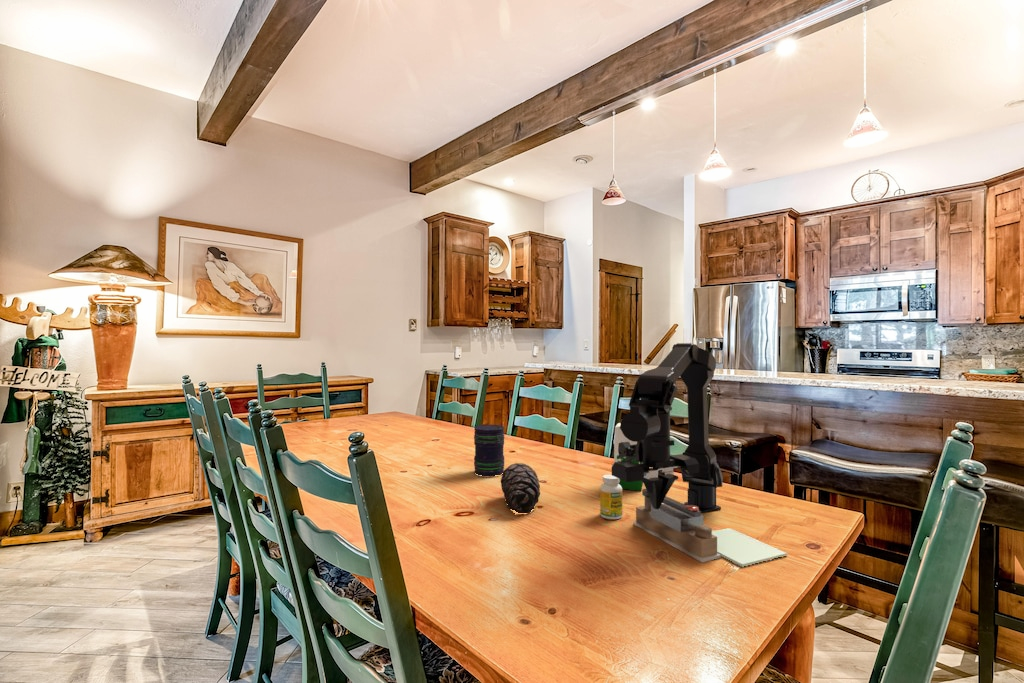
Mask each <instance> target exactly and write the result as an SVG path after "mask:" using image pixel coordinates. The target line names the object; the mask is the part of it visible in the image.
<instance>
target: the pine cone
mask: <svg viewBox="0 0 1024 683" xmlns="http://www.w3.org/2000/svg"><path fill="white" fill-rule="evenodd" d="M500 486H501V491H502V493H503V497H504V498H505V499H506V501H505V500H504V503H505V502H506V503H507V504H508V505H507V506H508V507H509V508H508V507H507V506H506V507H507V508H508V509H509V510H510V509H512V510H515V511H516V512H518V513H530V512H531V510H532V509H534V506H535V505H536V504H538V503H539V498H540V495H541V490H540V487H541V485H540V480H539V477H538V475H537V473H536V471H535V470H534V469H533V468H532V467H531V466H529V465H528V464H525V463H521V462H520V463H517V462H515V463H512V464H510V465H509V466H507V468H504V472H503V474H502V475H501V478H500ZM506 503H505V504H506ZM535 507H536V506H535ZM514 514H515V513H514ZM514 514H513V515H514ZM530 514H531V513H530Z"/></svg>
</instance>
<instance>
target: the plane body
mask: <svg viewBox="0 0 1024 683" xmlns="http://www.w3.org/2000/svg"><path fill="white" fill-rule="evenodd" d="M651 506H652V503H651V501H650V498H649V497H646V496H644V505H642V506H641V505H640V506H636V507H635V521H633V523H632V524H633V525H634V526H635V527H638V528H639V529H641V530H643V531H645V532H646V533H648V534H650V535H652V536H654V537H655V538H657V539H659V540H661V541H662V542H665V543H666V544H668V545H670V546H671V547H673V548H675V549H677V550H679V551H680V552H683V553H684V554H686V555H688V556H690V557H691V558H693V559H695V560H697V561H698V562H700V563H706V562H710V561H715V560H718V559H721V558H722V557H721V555H720V554H718V553H717V537H716V536H714V535H712V531H713V529H712V527H711V526H709V525H705V524H704V525H697V526H695V530H690V531H685V532H679V531H677V530H675V529H673V528H671V527H669V526H667V525H665V524H663V523H661V522H659V521H657V520H655V519H653V518H651ZM714 559H715V560H714Z"/></svg>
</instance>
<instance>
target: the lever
mask: <svg viewBox="0 0 1024 683" xmlns="http://www.w3.org/2000/svg"><path fill="white" fill-rule="evenodd" d="M641 492H642V493H641V494H642V496H643V497H645V496H646V497H649V495H648V492H647V490H646V488H642V490H641ZM662 504H666V505H668V506H671V507H673V508H675V509H677V510H679V511H682V512H684V513H686V514H688V515H691V516H693V517H699V516H701V515H702V512H701V511H699V508H698V506H695V505H685V504H684V503H683V502H680V501H678V500H675V499H673V498H670V497H668V496H667V495H666V496H665V498H664V500H663V502H662Z"/></svg>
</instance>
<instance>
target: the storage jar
mask: <svg viewBox="0 0 1024 683" xmlns="http://www.w3.org/2000/svg"><path fill="white" fill-rule="evenodd" d="M504 430H505V427H504V426H503V425H501V424H500V425H499V424H482V425H481V424H480V425H476V426H474V433H473V434H474V435H473V440H474V441H473V444H474V445H475V448H474V456H473V457H474V458H473V461H474V462H473V466H474V474H475V473H476V474H478V475H482V476H495V475H500V474H502V473H503V472H504V470H505V456H504V444H505V431H504Z"/></svg>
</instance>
